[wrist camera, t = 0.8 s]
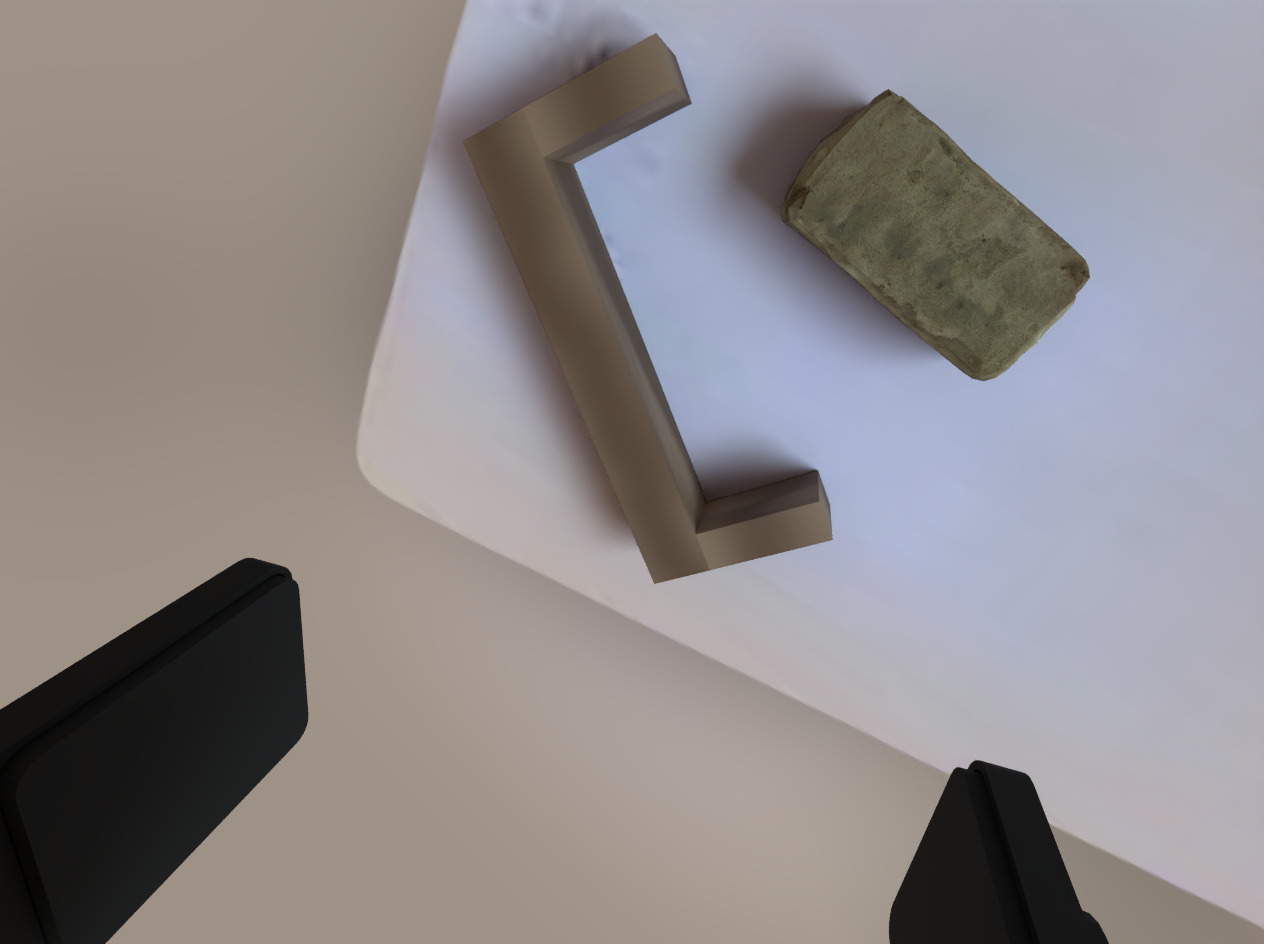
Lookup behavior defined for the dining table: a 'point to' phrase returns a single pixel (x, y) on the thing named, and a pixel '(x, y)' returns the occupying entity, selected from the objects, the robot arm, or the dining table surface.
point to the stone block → (934, 237)
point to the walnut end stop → (622, 321)
